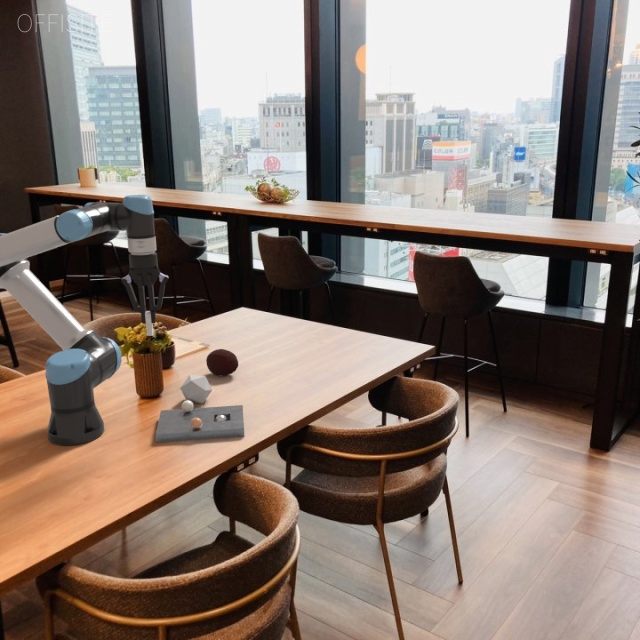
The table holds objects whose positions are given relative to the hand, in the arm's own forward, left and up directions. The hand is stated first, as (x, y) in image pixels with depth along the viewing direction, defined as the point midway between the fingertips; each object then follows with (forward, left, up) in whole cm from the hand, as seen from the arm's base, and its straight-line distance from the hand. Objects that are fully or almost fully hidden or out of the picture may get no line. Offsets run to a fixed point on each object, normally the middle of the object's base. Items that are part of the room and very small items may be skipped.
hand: (150, 334), depth 197 cm
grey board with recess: (+13, -8, -26) cm, 30 cm away
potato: (+19, +33, -27) cm, 46 cm away
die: (+11, +12, -27) cm, 31 cm away
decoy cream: (+9, -2, -22) cm, 24 cm away
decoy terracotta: (+12, -13, -22) cm, 29 cm away
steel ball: (+19, -8, -25) cm, 32 cm away
